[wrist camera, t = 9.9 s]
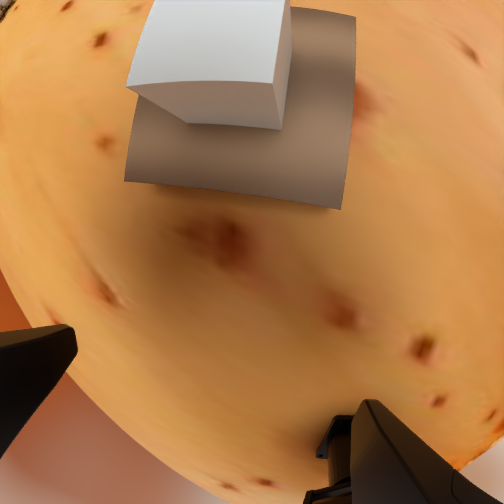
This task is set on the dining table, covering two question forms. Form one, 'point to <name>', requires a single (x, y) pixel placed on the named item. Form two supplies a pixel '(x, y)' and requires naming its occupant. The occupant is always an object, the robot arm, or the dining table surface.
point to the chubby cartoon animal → (4, 5)
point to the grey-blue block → (216, 60)
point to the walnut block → (263, 139)
